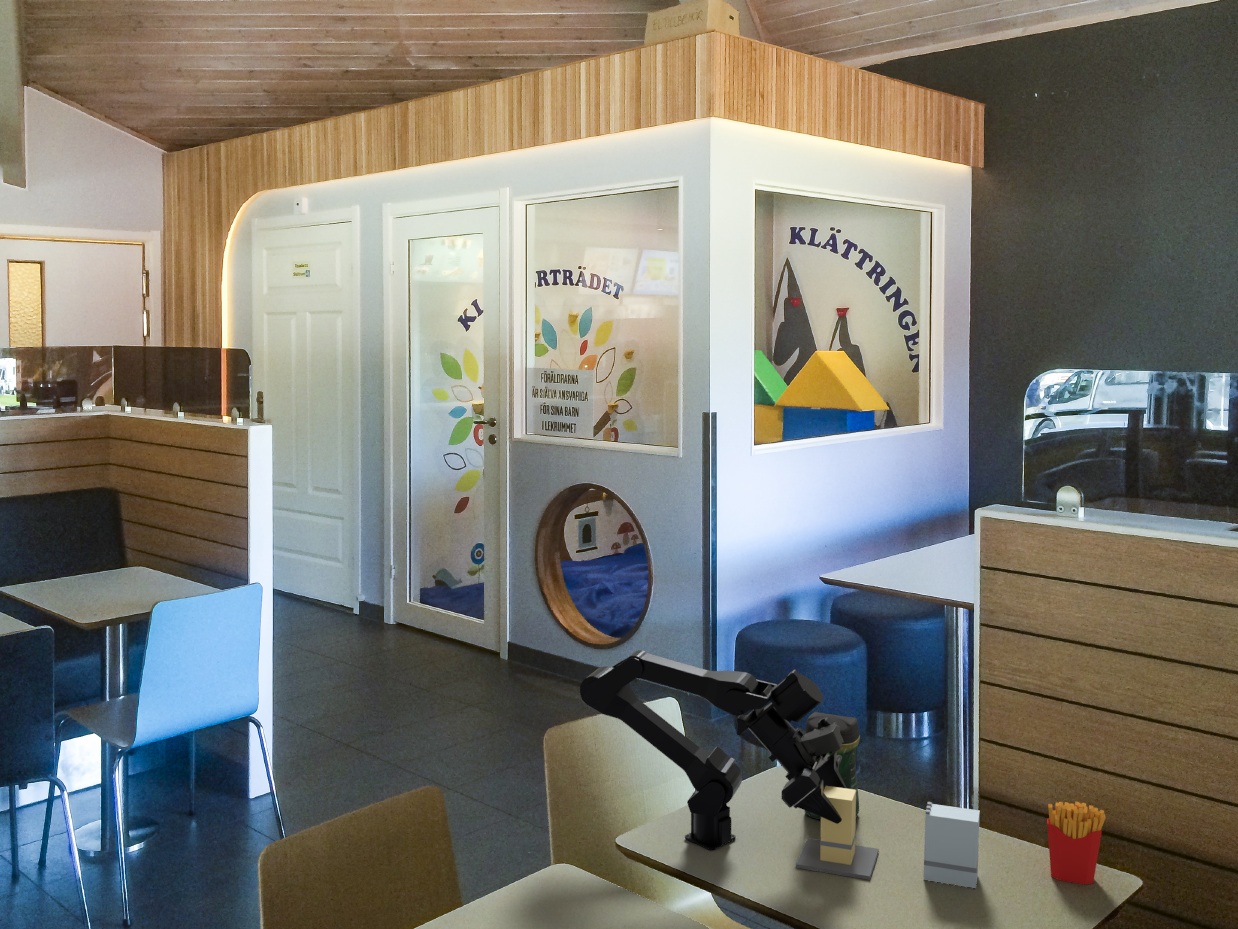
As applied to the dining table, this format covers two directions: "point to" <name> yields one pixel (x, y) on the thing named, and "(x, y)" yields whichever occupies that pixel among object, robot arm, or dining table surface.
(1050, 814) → the french fries
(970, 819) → the knobbed pale slab
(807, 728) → the coffee jar
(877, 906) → the dining table surface
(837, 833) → the block
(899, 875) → the dining table surface
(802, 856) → the mat
